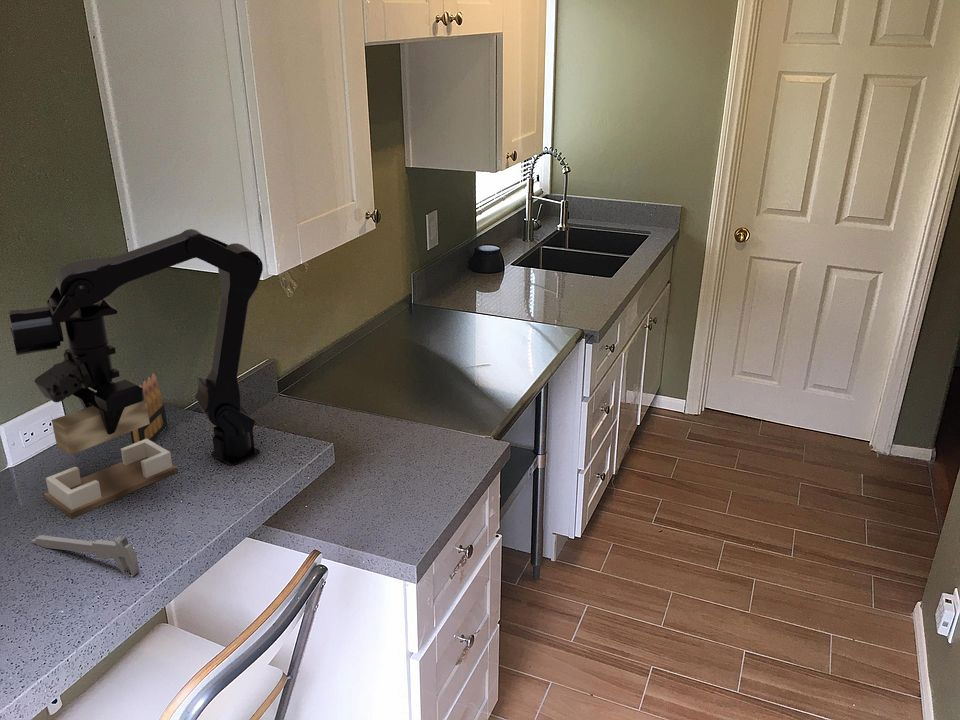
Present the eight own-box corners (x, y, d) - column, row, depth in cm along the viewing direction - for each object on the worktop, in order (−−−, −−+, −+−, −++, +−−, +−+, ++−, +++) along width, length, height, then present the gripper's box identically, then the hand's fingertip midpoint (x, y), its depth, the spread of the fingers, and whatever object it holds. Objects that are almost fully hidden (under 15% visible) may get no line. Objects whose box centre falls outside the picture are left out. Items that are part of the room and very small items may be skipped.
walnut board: (150, 455, 145) (149, 450, 144) (177, 471, 140) (177, 467, 139) (44, 498, 131) (43, 493, 130) (71, 518, 126) (70, 513, 125)
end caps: (148, 453, 144) (146, 438, 142) (172, 466, 139) (170, 452, 138) (48, 493, 130) (45, 478, 129) (71, 510, 126) (68, 494, 125)
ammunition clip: (142, 453, 145) (133, 395, 141) (133, 452, 145) (123, 394, 141) (168, 426, 155) (160, 371, 151) (158, 426, 155) (150, 370, 151)
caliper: (140, 574, 114) (134, 538, 112) (134, 578, 113) (128, 542, 111) (36, 540, 121) (28, 506, 118) (29, 544, 120) (21, 509, 117)
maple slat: (136, 417, 138) (132, 391, 136) (149, 423, 135) (145, 397, 133) (57, 447, 127) (51, 420, 125) (70, 455, 125) (64, 427, 123)
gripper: (8, 342, 124) (28, 429, 130) (67, 373, 114) (85, 467, 120) (78, 324, 132) (93, 407, 138) (139, 352, 122) (152, 440, 128)
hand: (104, 429), depth 131 cm, fingers closed on maple slat, 4 cm apart
